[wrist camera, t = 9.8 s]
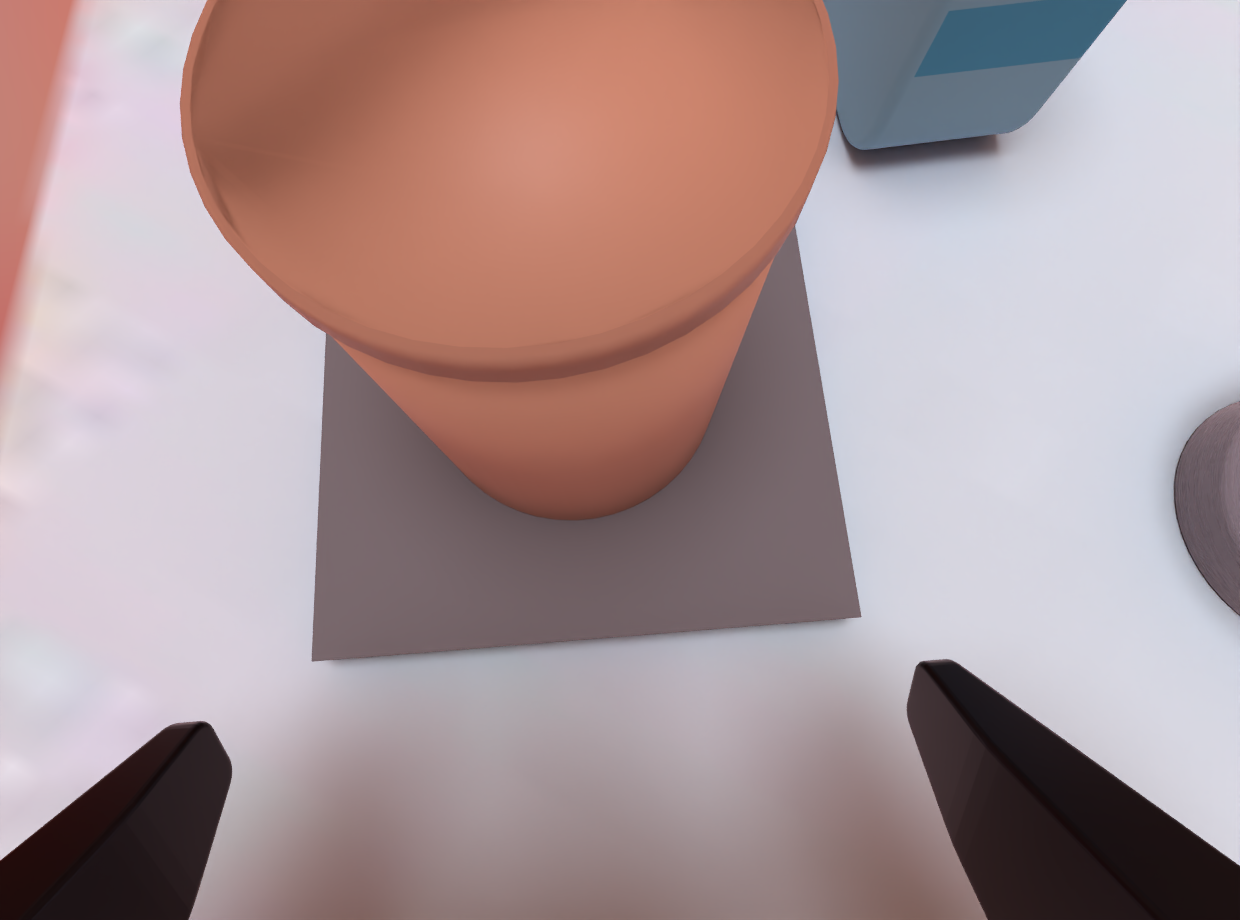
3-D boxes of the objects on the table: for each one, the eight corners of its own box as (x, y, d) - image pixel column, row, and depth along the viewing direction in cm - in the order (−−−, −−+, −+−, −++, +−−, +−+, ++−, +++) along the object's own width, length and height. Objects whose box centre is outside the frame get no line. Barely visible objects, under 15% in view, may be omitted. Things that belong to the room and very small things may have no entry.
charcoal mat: (846, 618, 15) (861, 617, 14) (331, 659, 15) (311, 661, 14) (774, 182, 18) (783, 157, 17) (347, 211, 18) (332, 186, 17)
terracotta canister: (776, 424, 15) (976, 142, 7) (518, 583, 14) (358, 497, 6) (619, 209, 17) (615, -246, 8) (378, 339, 16) (86, -19, 7)
